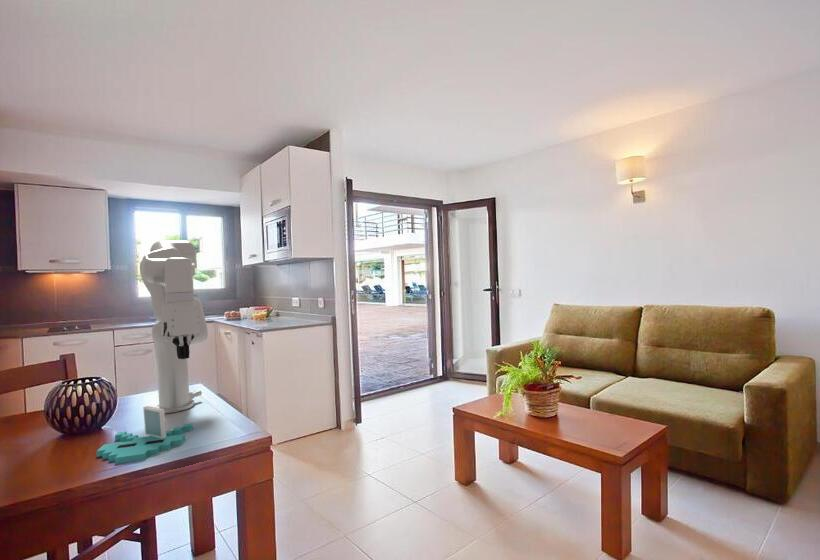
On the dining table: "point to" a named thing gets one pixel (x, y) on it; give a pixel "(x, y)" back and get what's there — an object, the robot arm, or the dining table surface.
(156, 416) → the tile
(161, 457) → the dining table surface
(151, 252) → the robot arm
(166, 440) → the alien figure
